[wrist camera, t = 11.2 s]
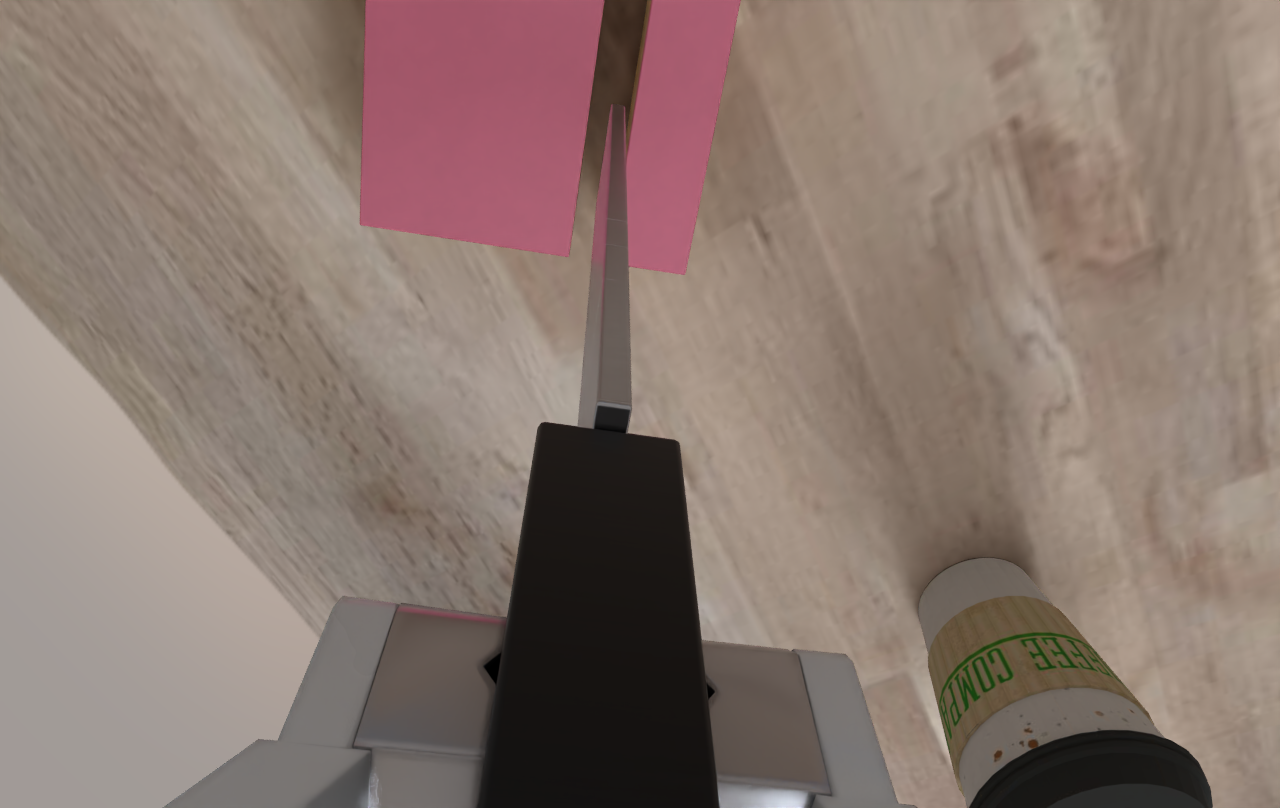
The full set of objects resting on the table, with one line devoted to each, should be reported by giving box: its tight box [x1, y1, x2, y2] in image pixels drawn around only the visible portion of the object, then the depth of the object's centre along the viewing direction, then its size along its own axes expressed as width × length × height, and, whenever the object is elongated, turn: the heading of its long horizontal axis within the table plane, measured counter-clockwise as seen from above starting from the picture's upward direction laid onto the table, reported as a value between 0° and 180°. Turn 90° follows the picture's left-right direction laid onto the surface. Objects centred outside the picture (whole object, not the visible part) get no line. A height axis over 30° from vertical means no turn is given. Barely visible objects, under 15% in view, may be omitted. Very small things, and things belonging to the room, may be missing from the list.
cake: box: [360, 0, 605, 257], centre depth 34 cm, size 8×12×4 cm
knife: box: [477, 104, 720, 808], centre depth 16 cm, size 2×3×25 cm, turn 170°
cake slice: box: [626, 0, 741, 275], centre depth 35 cm, size 3×12×4 cm, turn 170°
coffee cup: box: [918, 558, 1213, 808], centre depth 43 cm, size 10×10×15 cm
